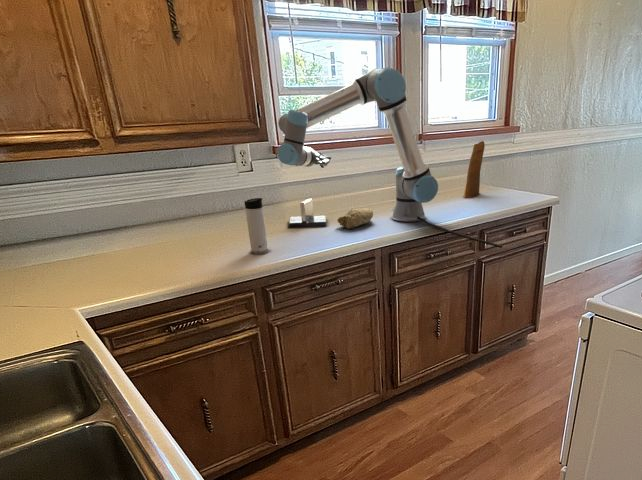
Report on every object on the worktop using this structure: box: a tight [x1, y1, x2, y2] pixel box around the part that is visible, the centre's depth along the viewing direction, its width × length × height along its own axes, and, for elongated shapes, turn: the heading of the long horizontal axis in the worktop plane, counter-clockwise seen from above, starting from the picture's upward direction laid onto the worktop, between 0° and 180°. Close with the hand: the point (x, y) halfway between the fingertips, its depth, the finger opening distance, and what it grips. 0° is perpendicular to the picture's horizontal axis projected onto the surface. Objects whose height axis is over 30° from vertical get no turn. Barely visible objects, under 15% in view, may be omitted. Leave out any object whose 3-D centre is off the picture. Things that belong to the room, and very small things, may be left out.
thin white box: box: [299, 198, 315, 222], centre depth 233 cm, size 10×2×8 cm, turn 168°
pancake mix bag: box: [463, 140, 486, 199], centre depth 284 cm, size 7×19×28 cm, turn 148°
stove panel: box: [289, 215, 327, 229], centre depth 236 cm, size 16×14×2 cm
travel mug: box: [244, 197, 269, 255], centre depth 193 cm, size 6×7×20 cm
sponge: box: [336, 207, 374, 230], centre depth 233 cm, size 13×8×20 cm
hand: (328, 159), depth 230 cm, fingers closed
